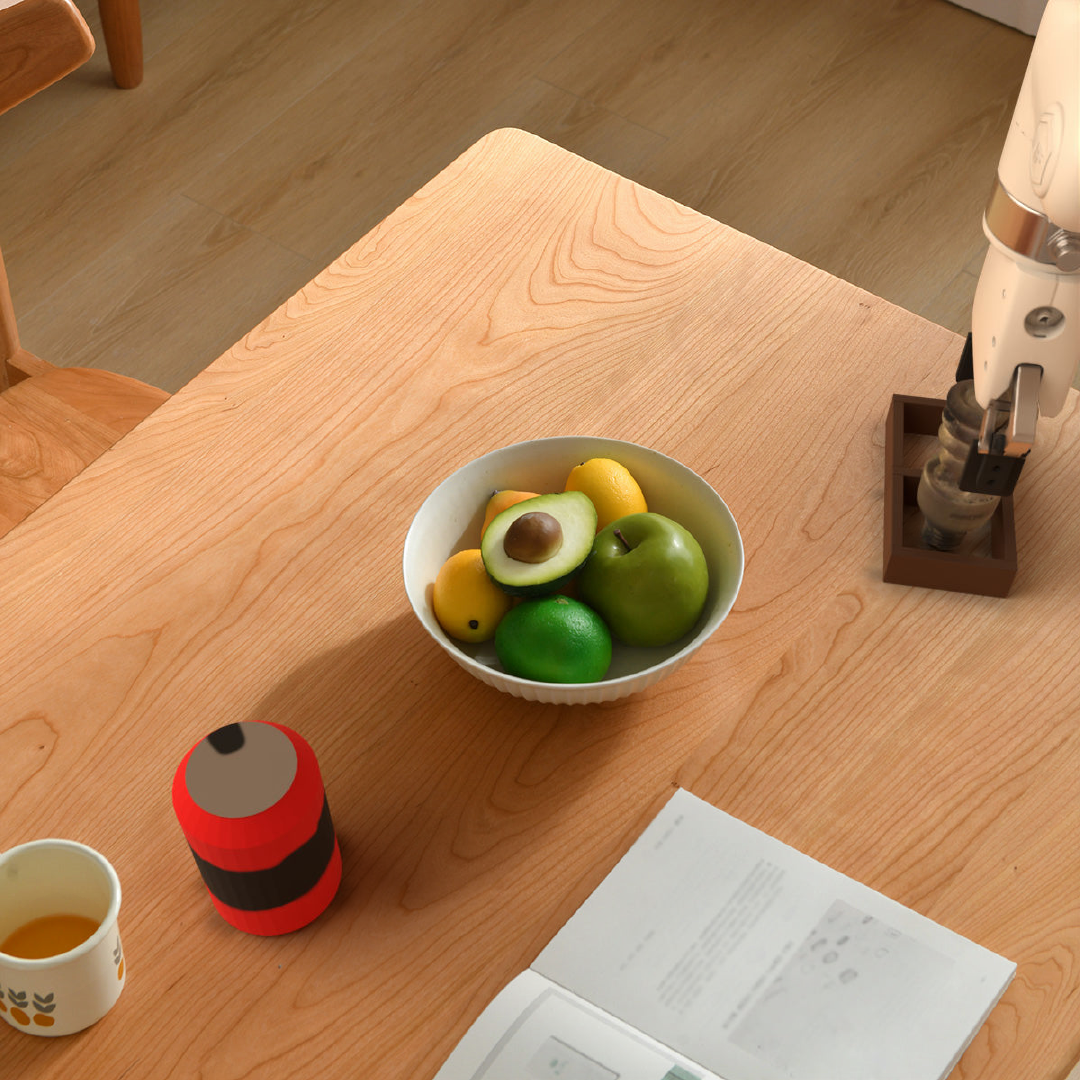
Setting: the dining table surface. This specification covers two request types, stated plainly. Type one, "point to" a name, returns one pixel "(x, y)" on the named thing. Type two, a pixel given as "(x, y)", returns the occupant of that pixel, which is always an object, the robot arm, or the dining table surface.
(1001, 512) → the socket block
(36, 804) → the dining table surface
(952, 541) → the light bulb
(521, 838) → the dining table surface
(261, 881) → the soda can
